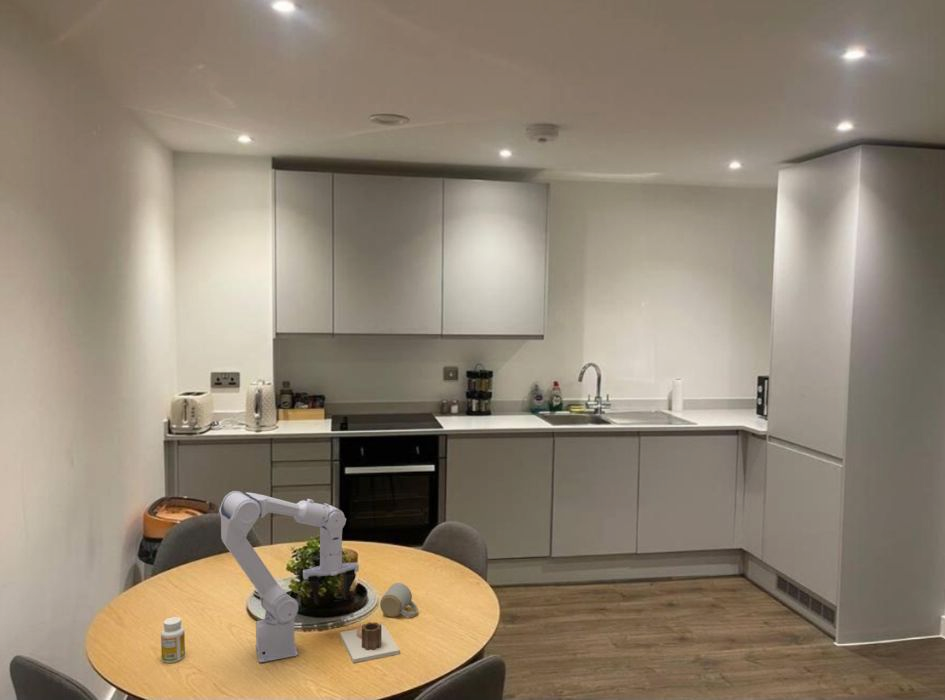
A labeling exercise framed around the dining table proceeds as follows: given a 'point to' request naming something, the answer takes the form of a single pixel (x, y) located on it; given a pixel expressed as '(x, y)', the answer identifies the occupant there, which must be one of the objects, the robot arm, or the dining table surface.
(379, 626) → the walnut pinion gear
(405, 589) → the ceramic mug
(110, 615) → the dining table surface
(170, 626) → the supplement bottle
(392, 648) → the gear board
